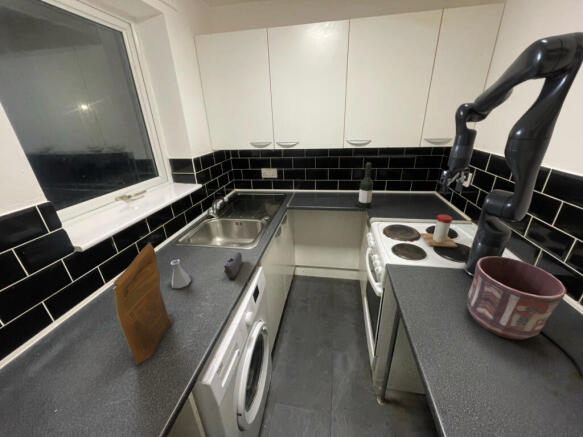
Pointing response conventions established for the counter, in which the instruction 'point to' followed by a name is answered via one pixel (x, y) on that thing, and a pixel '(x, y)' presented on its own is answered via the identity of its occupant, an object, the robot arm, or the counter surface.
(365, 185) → the wine bottle
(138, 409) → the counter surface
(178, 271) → the flask
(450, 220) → the jam lid
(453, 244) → the wooden trivet
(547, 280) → the pottery
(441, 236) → the jam jar
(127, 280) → the pancake mix bag
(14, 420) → the counter surface
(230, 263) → the perforated stone tool
